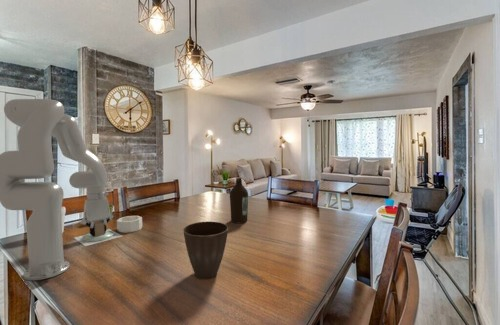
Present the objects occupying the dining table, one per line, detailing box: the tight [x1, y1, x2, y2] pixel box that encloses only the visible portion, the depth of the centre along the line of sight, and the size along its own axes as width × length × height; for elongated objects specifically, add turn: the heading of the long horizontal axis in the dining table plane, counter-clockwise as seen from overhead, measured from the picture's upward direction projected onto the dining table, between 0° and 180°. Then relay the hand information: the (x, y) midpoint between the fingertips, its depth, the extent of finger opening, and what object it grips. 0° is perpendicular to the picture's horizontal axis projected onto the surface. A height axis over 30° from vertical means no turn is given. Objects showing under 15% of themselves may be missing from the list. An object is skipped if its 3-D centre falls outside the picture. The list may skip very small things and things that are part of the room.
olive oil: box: [229, 177, 249, 224], centre depth 148 cm, size 11×11×25 cm
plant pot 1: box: [98, 204, 115, 222], centre depth 150 cm, size 9×9×9 cm
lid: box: [82, 220, 115, 242], centre depth 122 cm, size 13×13×7 cm
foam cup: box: [61, 206, 66, 234], centre depth 127 cm, size 10×9×13 cm
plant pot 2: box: [182, 221, 229, 280], centre depth 88 cm, size 15×15×16 cm
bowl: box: [116, 215, 143, 234], centre depth 134 cm, size 11×11×6 cm
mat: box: [73, 228, 123, 247], centre depth 123 cm, size 16×16×1 cm
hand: (98, 233), depth 123 cm, fingers closed on lid, 4 cm apart
